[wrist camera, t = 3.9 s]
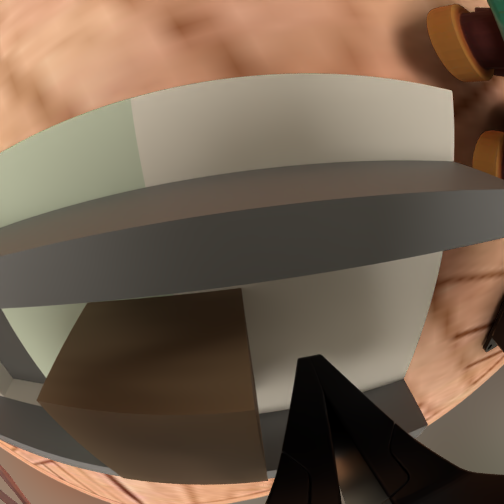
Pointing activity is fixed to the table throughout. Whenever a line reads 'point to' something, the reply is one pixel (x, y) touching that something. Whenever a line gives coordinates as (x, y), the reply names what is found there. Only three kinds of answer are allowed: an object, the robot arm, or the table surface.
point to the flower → (7, 478)
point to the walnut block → (162, 389)
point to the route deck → (240, 231)
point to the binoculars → (473, 62)
